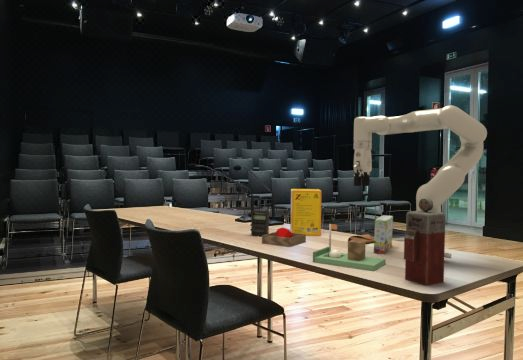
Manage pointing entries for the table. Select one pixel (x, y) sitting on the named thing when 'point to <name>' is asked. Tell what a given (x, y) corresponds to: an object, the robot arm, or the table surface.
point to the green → (346, 258)
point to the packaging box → (306, 211)
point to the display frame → (283, 239)
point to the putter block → (356, 250)
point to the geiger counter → (259, 223)
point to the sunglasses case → (363, 238)
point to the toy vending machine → (424, 245)
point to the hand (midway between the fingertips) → (361, 185)
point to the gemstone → (283, 233)
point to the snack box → (383, 234)
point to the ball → (335, 254)
